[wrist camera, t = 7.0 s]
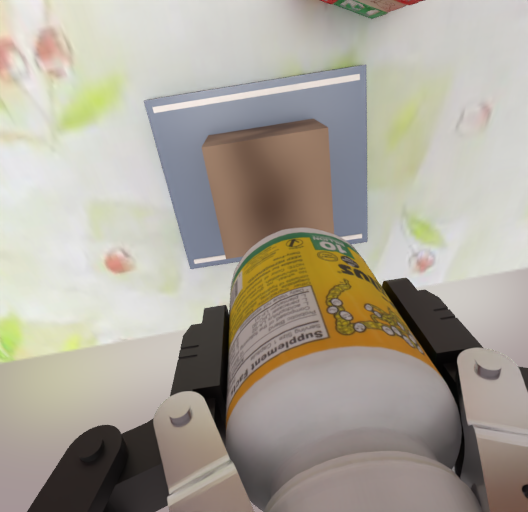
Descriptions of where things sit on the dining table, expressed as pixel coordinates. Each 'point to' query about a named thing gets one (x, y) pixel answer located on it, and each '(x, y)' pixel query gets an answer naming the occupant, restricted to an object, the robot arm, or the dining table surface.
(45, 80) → the dining table surface
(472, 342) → the robot arm
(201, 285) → the dining table surface
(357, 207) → the blueprint board
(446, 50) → the dining table surface
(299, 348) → the supplement bottle
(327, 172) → the walnut plinth
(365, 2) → the stack of blocks
